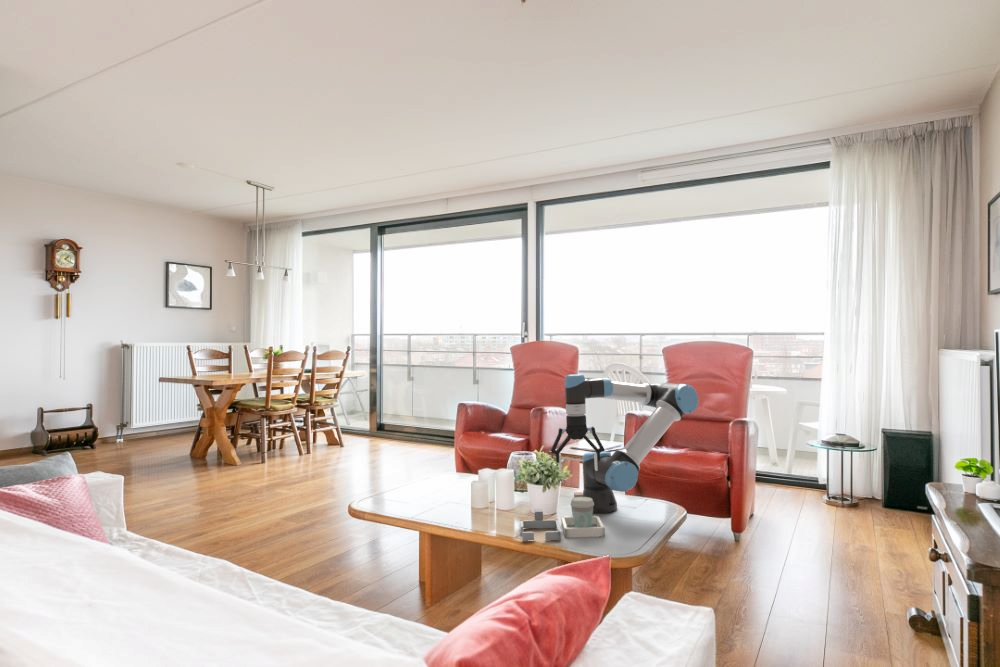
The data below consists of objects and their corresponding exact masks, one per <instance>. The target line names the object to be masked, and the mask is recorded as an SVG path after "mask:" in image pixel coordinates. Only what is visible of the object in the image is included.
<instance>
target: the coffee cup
mask: <svg viewBox="0 0 1000 667" xmlns="http://www.w3.org/2000/svg"><path fill="white" fill-rule="evenodd" d="M569 505H570V507H571V513H572V516H573V522H574V525H573V528H582V527H593V525H592V518H593V516H594V513H593V506H594V502H593V499H592V498H589V497H575V498H574V497H573V498H571V501H570V504H569Z"/></svg>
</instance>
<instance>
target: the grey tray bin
mask: <svg viewBox="0 0 1000 667" xmlns="http://www.w3.org/2000/svg"><path fill="white" fill-rule="evenodd" d="M575 497H583V491H582V492H581V491H579V492H577V491H576V492H573V498H575ZM560 519H561V527H562V532H563V535H564V538H593V537H594V538H595V537H597V538H598V537H599V536H601V537H606V533H605V532H606V528H605V526H604V524H603V522H602V519H601V518H600V516H599V515H593V518H592V527H582V528H574V527H568V526H574V522H573V515H572V516H561V517H560ZM593 524H596V526H594V525H593ZM593 526H594V527H593ZM599 538H600V537H599Z"/></svg>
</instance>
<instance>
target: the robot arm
mask: <svg viewBox="0 0 1000 667" xmlns="http://www.w3.org/2000/svg"><path fill="white" fill-rule="evenodd" d="M564 394H565V414H566V419H565V420H566V427H565V428H562V427H558V432H557V435H556V437H555V439H554V441H553V444H552V447H551V449H550V452H551V453H552V454H555V462H556V463H557V464H558V470H559V473H562V471H563V469H562V468H563V466H562V453H561V452H562V451H563V449H564V448H565V447H566V446H567V444H568V443H569V441H571V440H573V441H575V440H580V441H581V440H583V439H584V440H585V442H587V444H589V445H590V447H591V448H592V449H593V450H594V451H593V452H586V453H584V454H583V455H582V463H581V464H582V480H583V491H582V494H583V497H589V498H592V499H593V502H594V506H593V514H606V512H608V513H613V512H615V511H616V509H617V510H618V502H617V499H616V496H615V493H614V491H615V492H619V493H621V492H622V493H623V492H624V493H625V492H627V491H630V490H632V489H633V488H634V487H635V486H636V484H637V482H638V480H639V479H638V476H639V471H640V470H641V466H640V464H641V463H642V461H644V459H645V458H646V457H647V455H648V454H649V453H650V451H652V449H653V448H654V446H655V445H656V444H657V443H658V442H659V440H660V439H661V438H662V436H663V435H664V434H665V433H666V432H667V430H668V429H669V428H670V427H671V426H672V424H673V423H674V422H679V421H681V419H682V418H683V417H684V416H685V414H691V413H694V412H695V411H696V410H697V408H698V406H699V394H698V392H697V391H696V389H695V388H694V387H693V386H692V385H690V384H686V383H670V382H662V383H661V382H658V383H653V382H651V383H648V382H643V383H641V384H638V383H629V382H622V381H621V382H620V381H613V380H611V379H610V378H609V377H597V378H596V377H585V375H584V374H581V373H579V374H578V373H577V374H567V375H565V378H564ZM595 398H599V399H605V400H606V399H608V400H609V399H610V400H617V401H625V402H634V403H638V404H640V405H641V406H647V407H651V408H654V410H653V411H652V413H651V414H650V415H649V417H648V418H647V419H646V420H645V421H644V422H643V424H642V425H641V426H640V427H639V429H638V430H637V431H636V432H635V433H634V434H633V435H632V437H631V438H630V439H629V441H628V442H627V443H626V444H625V445H624V446H623V448H622V449H616V450H614V452H613V454H612V453H611V452H610V451H605V448H604V445H603V444H602V442H601V441H600V440H601V439H599V436H598V435H597V433H596V429H595V426H591V427H587V416H586V415H585V414H587V412H586V410H587V409H586V399H595ZM588 432H589V433H590V434H591V435H592V436H593V438H594V440H595V441H596V443H597V444H596V445H598V447H599V448H598V447H597V446H596V445H595V444H594V443H593V441H591V439H590V438H589V437H588V436H587V433H588ZM565 433H566V434H567V436H566V437H565V439H564V440H563V441H562V442H561V444H560V445H559V443H560V440H561V438H562V435H564V434H565ZM558 445H559V446H558ZM557 446H558V447H557ZM612 511H613V512H612Z"/></svg>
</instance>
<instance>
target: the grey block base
mask: <svg viewBox="0 0 1000 667" xmlns="http://www.w3.org/2000/svg"><path fill="white" fill-rule="evenodd" d="M533 511H534V519H525V520H522V519H520V521H519V522H520V535H521V534H522V535H521V537H522V542H529V541H528V540H534V541H535V532H534V531H524V530H525V529H523V528H551V529H555V530H548V531H547V530H546V531H544V533H545V534H544V535H545V539H546V540H562V539H563V538H562V530H561V526H560V522H559V519H544V510H543V508H534V510H533ZM546 540H545V541H546Z"/></svg>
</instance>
